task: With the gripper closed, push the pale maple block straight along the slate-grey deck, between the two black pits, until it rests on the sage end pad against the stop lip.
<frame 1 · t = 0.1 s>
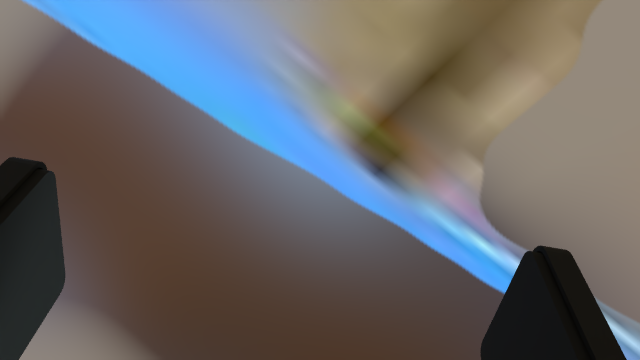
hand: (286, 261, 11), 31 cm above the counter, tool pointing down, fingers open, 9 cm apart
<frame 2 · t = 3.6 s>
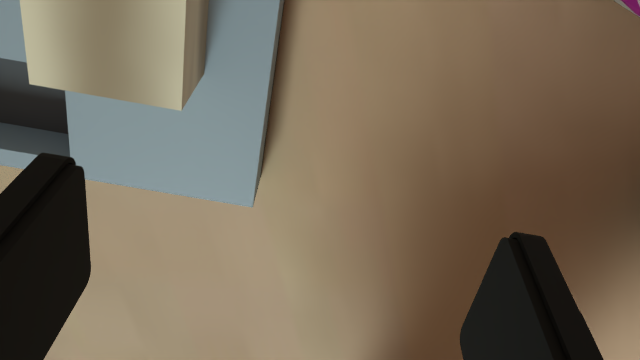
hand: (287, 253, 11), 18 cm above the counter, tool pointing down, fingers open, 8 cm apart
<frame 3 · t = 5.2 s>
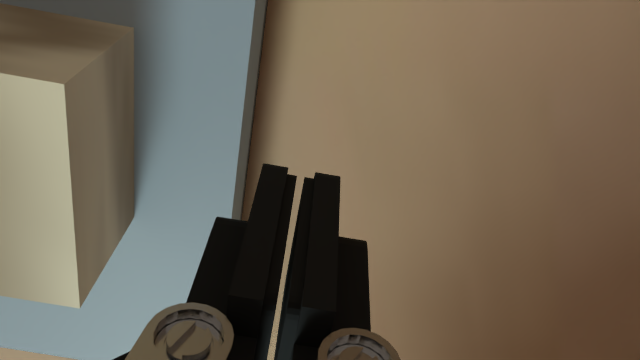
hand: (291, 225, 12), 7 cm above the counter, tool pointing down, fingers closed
maple block: (27, 113, 16), point 3 cm above the counter, touching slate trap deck
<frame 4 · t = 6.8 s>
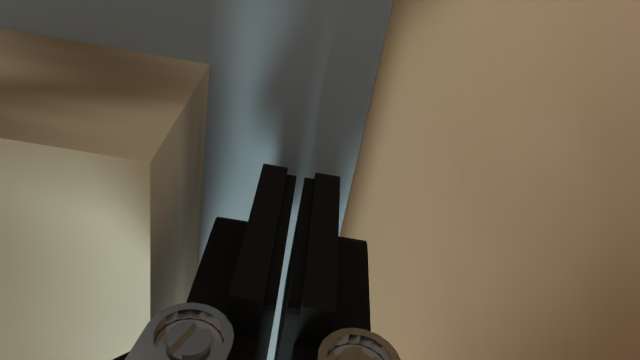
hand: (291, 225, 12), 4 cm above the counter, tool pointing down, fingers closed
maple block: (73, 164, 13), point 3 cm above the counter, touching gripper
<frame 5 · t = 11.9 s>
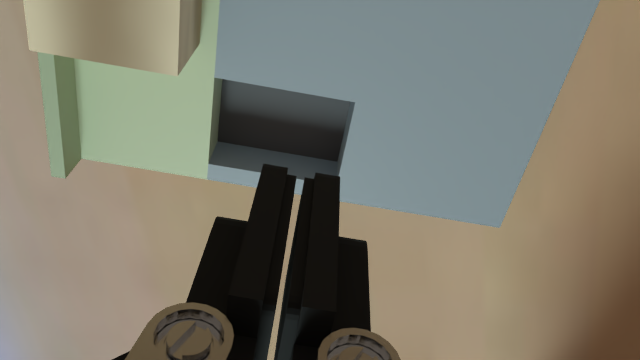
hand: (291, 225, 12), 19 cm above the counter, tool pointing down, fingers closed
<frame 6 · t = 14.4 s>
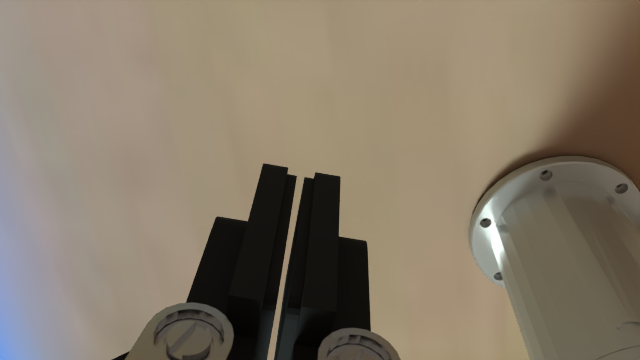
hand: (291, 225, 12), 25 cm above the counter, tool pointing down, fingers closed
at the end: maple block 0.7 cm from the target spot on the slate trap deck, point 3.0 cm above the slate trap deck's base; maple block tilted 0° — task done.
